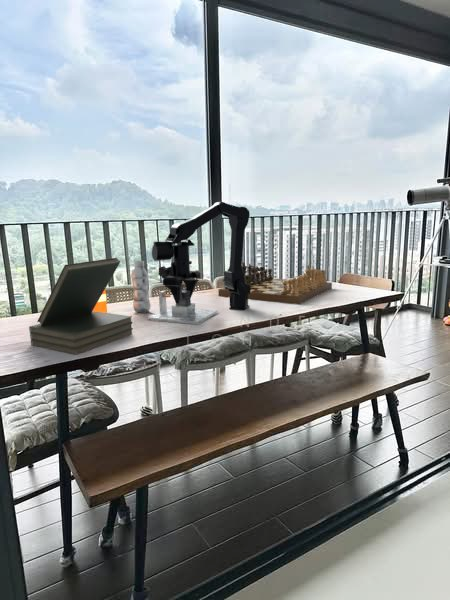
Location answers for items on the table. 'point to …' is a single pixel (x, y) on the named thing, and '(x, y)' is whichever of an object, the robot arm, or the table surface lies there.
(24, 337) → the table surface
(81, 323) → the bible
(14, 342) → the table surface
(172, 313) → the base
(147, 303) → the plastic bottle
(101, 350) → the table surface
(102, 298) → the orange juice
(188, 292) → the block
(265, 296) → the chess set
